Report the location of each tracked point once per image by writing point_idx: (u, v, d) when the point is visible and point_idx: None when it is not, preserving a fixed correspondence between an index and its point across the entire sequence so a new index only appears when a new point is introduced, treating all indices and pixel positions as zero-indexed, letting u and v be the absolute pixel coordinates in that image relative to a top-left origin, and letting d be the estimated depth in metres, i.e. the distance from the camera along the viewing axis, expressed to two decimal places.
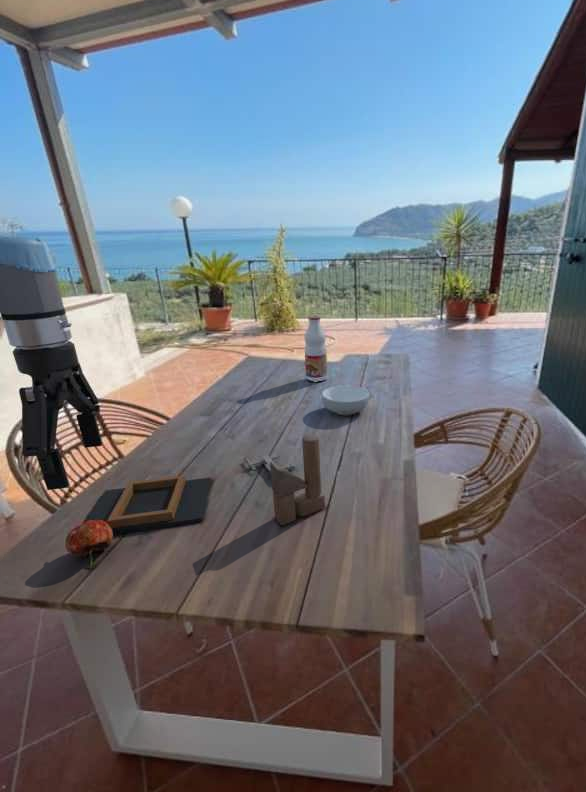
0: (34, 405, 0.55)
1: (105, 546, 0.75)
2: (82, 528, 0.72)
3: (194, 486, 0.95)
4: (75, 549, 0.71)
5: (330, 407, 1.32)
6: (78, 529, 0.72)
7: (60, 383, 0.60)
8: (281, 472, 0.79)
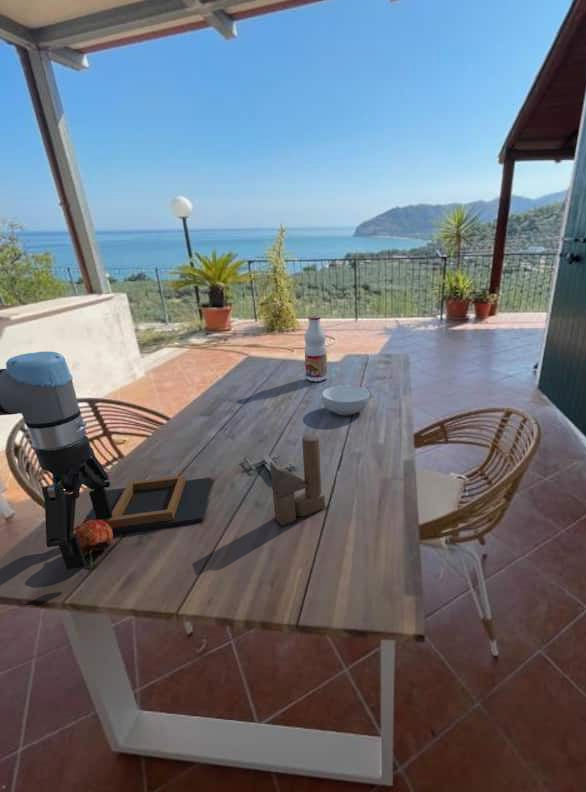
0: (55, 501, 0.63)
1: (105, 546, 0.75)
2: (82, 528, 0.72)
3: (194, 486, 0.95)
4: None
5: (330, 407, 1.32)
6: (78, 529, 0.72)
7: (76, 474, 0.68)
8: (281, 472, 0.79)
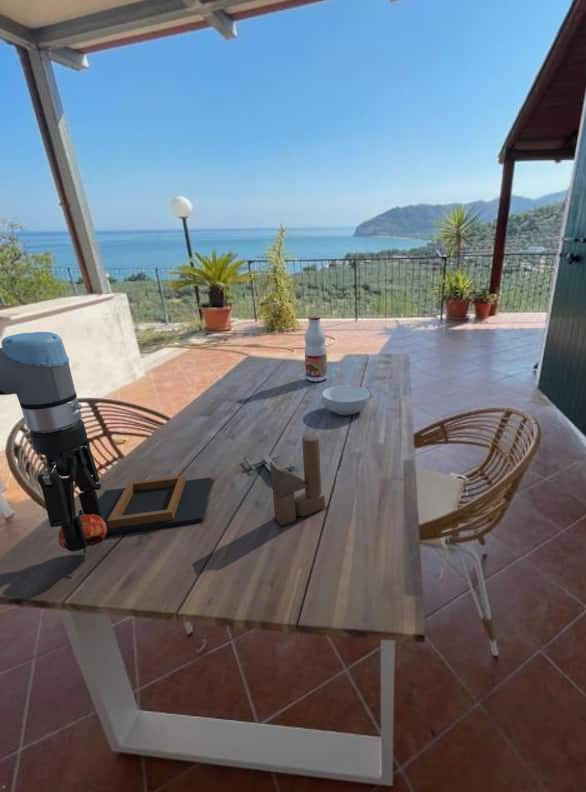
0: (53, 488, 0.63)
1: (99, 541, 0.74)
2: None
3: (194, 486, 0.95)
4: None
5: (330, 407, 1.32)
6: None
7: (70, 458, 0.67)
8: (281, 472, 0.79)
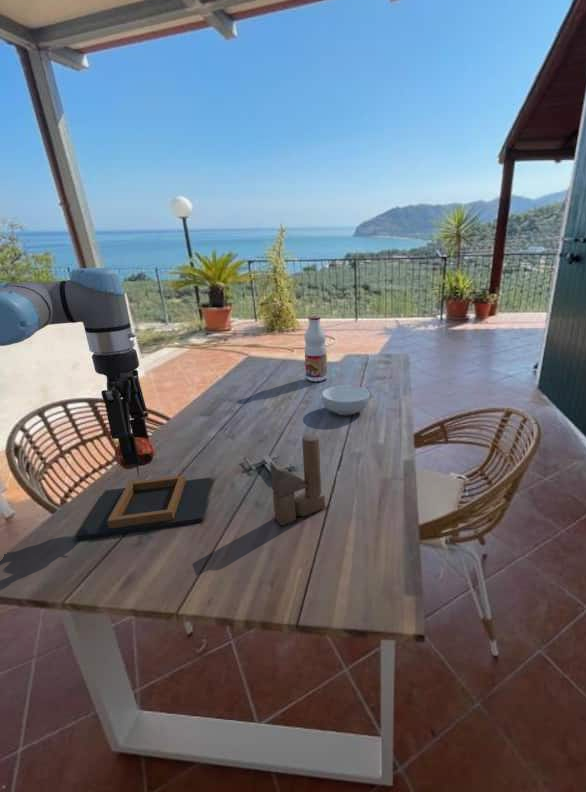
0: (114, 403, 0.73)
1: (148, 461, 0.84)
2: None
3: (194, 486, 0.95)
4: None
5: (330, 407, 1.32)
6: None
7: (126, 381, 0.76)
8: (281, 472, 0.79)
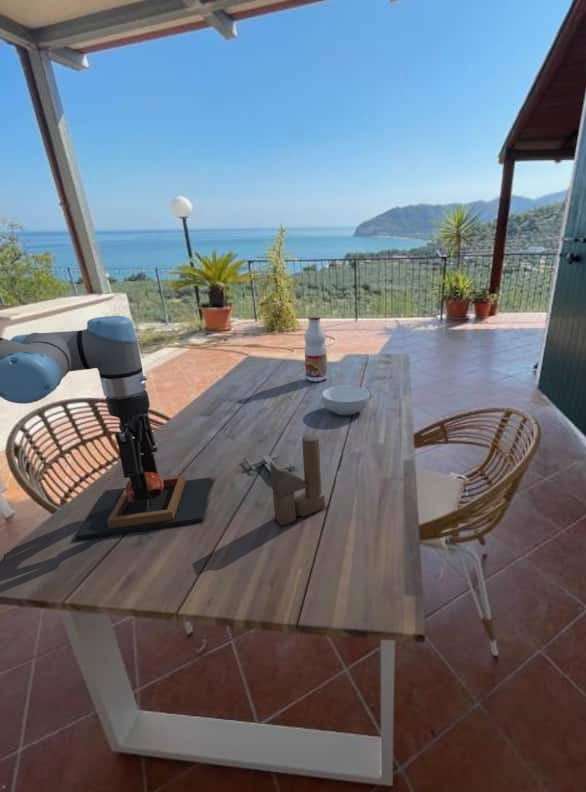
0: (126, 444, 0.76)
1: (158, 494, 0.88)
2: None
3: (194, 486, 0.95)
4: None
5: (330, 407, 1.32)
6: None
7: (138, 422, 0.80)
8: (281, 472, 0.79)
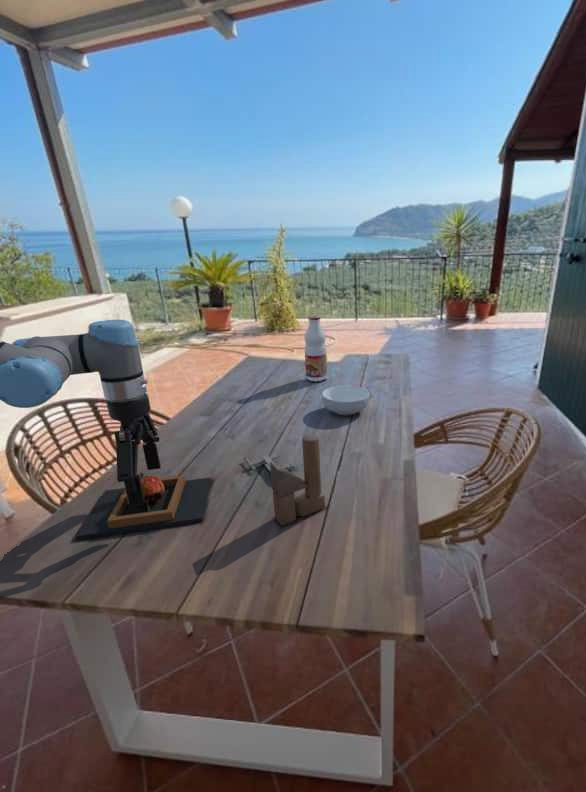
0: (124, 444, 0.76)
1: (158, 498, 0.88)
2: None
3: (194, 486, 0.95)
4: None
5: (330, 407, 1.32)
6: None
7: (138, 425, 0.80)
8: (281, 472, 0.79)
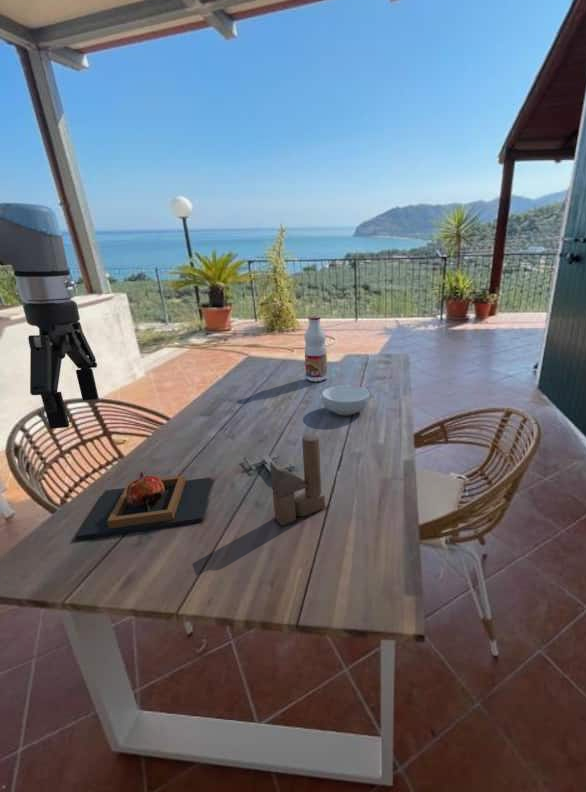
0: (41, 351, 0.64)
1: (158, 498, 0.88)
2: (140, 481, 0.85)
3: (194, 486, 0.95)
4: (136, 498, 0.84)
5: (330, 407, 1.32)
6: (137, 482, 0.85)
7: (63, 336, 0.69)
8: (281, 472, 0.79)
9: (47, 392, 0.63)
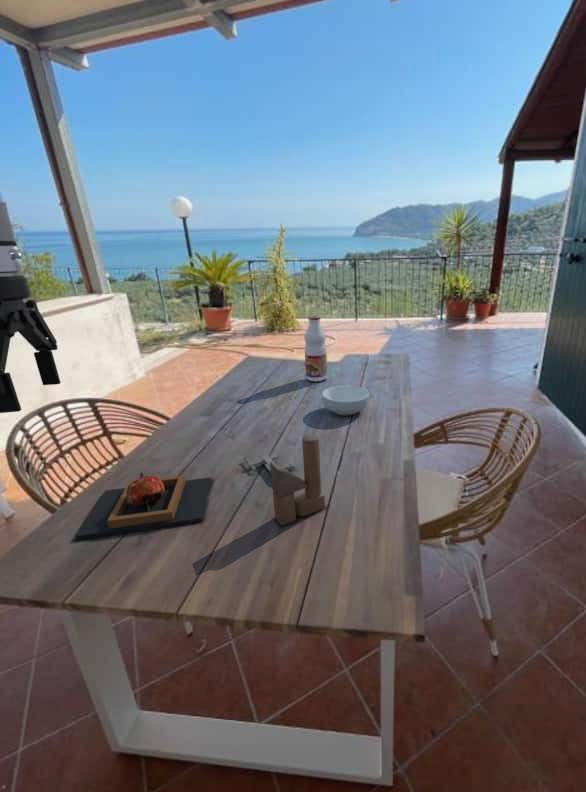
0: None
1: (158, 498, 0.88)
2: (140, 481, 0.85)
3: (194, 486, 0.95)
4: (136, 498, 0.84)
5: (330, 407, 1.32)
6: (137, 482, 0.85)
7: (12, 312, 0.64)
8: (281, 472, 0.79)
9: None
